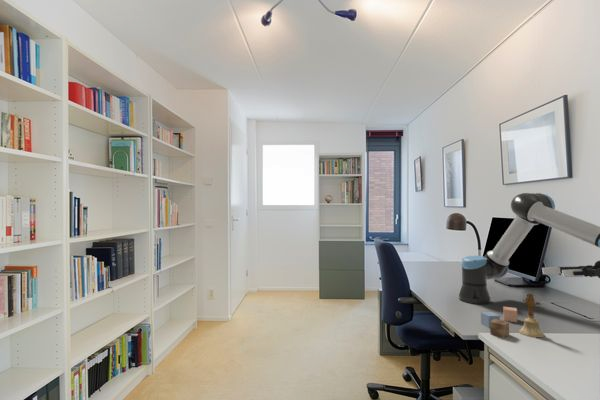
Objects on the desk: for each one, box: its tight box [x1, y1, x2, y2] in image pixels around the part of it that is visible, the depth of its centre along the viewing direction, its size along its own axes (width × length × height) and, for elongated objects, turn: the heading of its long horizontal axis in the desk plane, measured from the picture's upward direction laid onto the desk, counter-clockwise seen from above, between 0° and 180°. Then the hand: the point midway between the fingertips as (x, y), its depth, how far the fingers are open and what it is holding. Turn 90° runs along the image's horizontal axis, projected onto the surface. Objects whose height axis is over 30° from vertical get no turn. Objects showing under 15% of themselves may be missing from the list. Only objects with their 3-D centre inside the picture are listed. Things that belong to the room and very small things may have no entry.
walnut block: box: [489, 319, 510, 339], centre depth 130 cm, size 5×5×5 cm
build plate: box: [522, 292, 538, 306], centre depth 176 cm, size 12×7×5 cm, turn 151°
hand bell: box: [518, 292, 545, 338], centre depth 131 cm, size 8×8×16 cm
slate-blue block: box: [480, 311, 501, 329], centre depth 140 cm, size 5×5×5 cm
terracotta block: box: [502, 306, 518, 323], centre depth 147 cm, size 5×5×5 cm
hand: (552, 272), depth 133 cm, fingers open, 13 cm apart
